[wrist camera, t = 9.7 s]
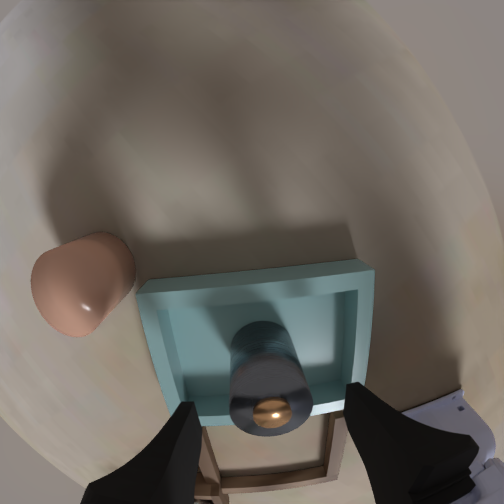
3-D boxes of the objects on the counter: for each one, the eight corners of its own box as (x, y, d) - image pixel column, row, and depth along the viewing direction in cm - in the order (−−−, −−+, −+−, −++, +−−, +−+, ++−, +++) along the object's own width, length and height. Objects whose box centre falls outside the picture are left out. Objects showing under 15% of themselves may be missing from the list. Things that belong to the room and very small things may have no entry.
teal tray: (357, 258, 17) (374, 269, 15) (350, 384, 20) (361, 405, 17) (148, 279, 17) (135, 293, 15) (179, 403, 19) (174, 426, 17)
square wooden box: (219, 472, 22) (219, 496, 19) (228, 497, 23) (228, 518, 20) (160, 470, 21) (155, 492, 19) (176, 496, 23) (173, 516, 20)
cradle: (344, 403, 20) (350, 415, 19) (333, 469, 22) (337, 479, 21) (188, 421, 20) (186, 434, 18) (211, 482, 22) (211, 493, 21)
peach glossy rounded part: (128, 227, 16) (91, 244, 11) (142, 299, 17) (113, 337, 13) (68, 236, 16) (22, 254, 11) (83, 302, 17) (45, 335, 12)
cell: (291, 317, 18) (317, 378, 12) (292, 369, 19) (313, 435, 12) (227, 323, 18) (223, 388, 11) (233, 374, 18) (234, 444, 12)
